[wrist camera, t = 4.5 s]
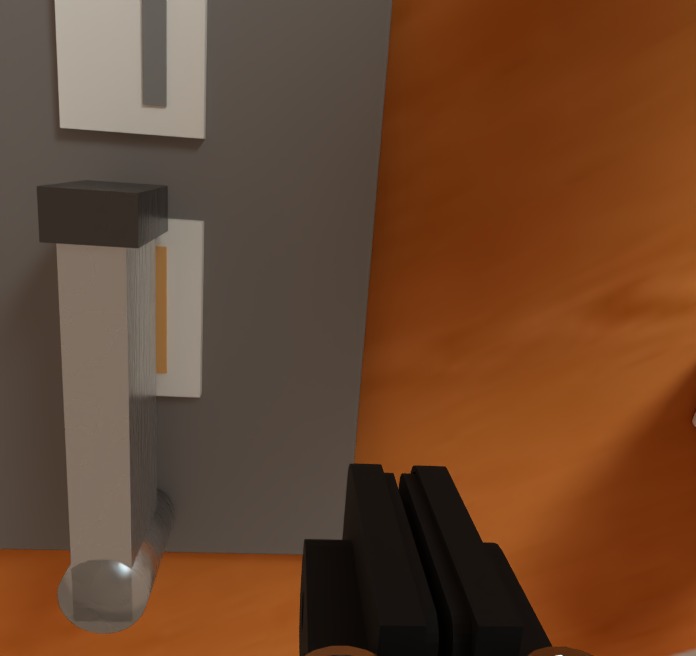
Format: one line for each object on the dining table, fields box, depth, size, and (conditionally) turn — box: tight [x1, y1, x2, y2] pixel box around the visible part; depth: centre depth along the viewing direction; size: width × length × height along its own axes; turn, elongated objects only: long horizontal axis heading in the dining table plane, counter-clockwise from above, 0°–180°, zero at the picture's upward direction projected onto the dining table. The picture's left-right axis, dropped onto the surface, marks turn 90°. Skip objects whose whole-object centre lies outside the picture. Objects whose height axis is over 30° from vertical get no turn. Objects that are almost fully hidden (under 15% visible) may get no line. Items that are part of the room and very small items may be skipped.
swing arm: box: [37, 180, 175, 634], centre depth 23 cm, size 15×3×5 cm, turn 176°
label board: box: [0, 0, 393, 555], centre depth 25 cm, size 26×18×2 cm
